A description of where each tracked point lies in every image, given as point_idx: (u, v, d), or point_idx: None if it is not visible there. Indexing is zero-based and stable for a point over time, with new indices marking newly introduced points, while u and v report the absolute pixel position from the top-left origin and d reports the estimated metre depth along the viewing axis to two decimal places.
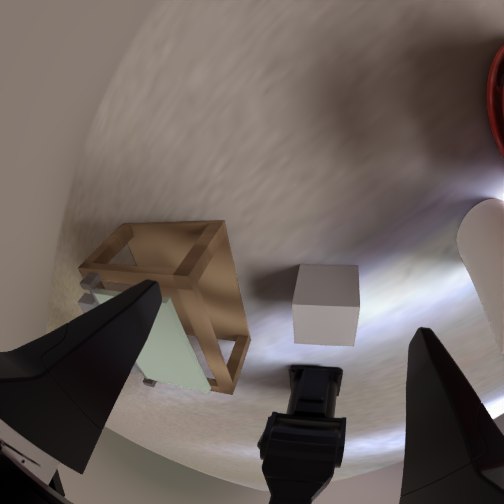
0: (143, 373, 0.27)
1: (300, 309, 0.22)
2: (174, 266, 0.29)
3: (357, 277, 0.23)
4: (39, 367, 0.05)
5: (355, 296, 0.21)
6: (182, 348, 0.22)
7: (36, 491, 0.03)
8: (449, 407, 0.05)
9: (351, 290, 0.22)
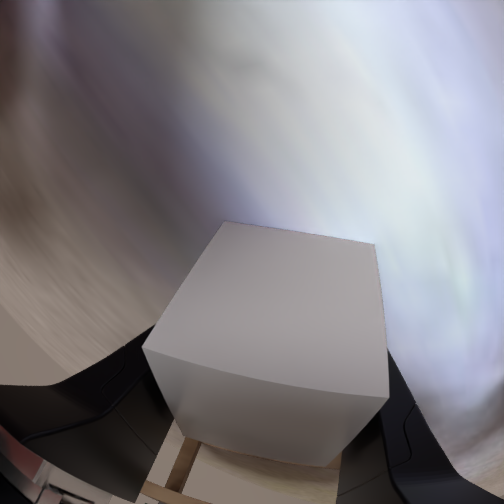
0: None
1: (193, 434, 0.08)
2: None
3: None
4: (102, 403, 0.05)
5: None
6: None
7: None
8: None
9: None
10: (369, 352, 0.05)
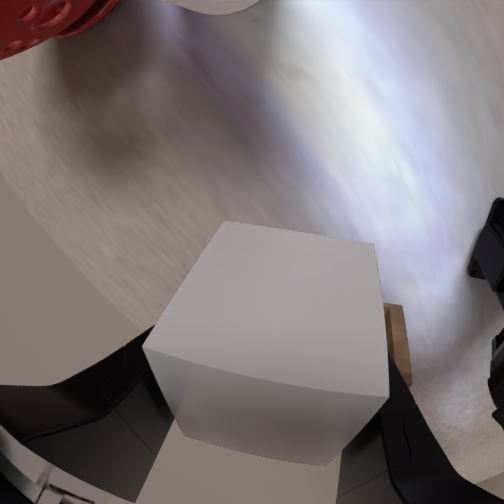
0: None
1: (194, 433, 0.08)
2: None
3: None
4: (102, 404, 0.05)
5: None
6: None
7: None
8: None
9: None
10: (369, 351, 0.05)
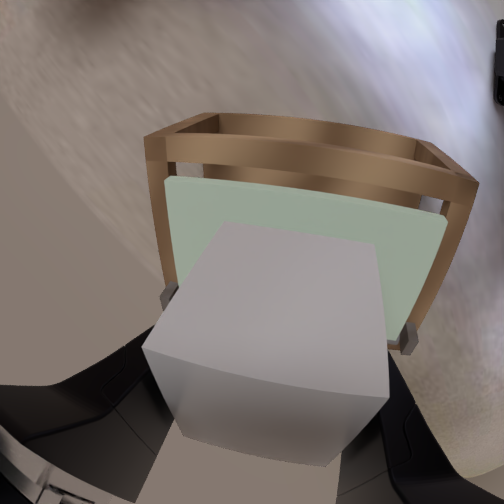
0: None
1: (193, 434, 0.08)
2: None
3: None
4: (102, 403, 0.05)
5: None
6: (278, 201, 0.12)
7: None
8: None
9: None
10: (369, 352, 0.05)
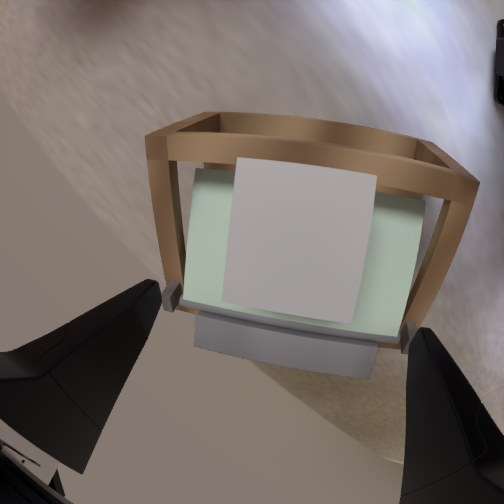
0: (380, 336, 0.14)
1: (235, 287, 0.10)
2: None
3: None
4: (39, 367, 0.05)
5: None
6: None
7: (36, 491, 0.03)
8: (449, 407, 0.05)
9: None
10: None
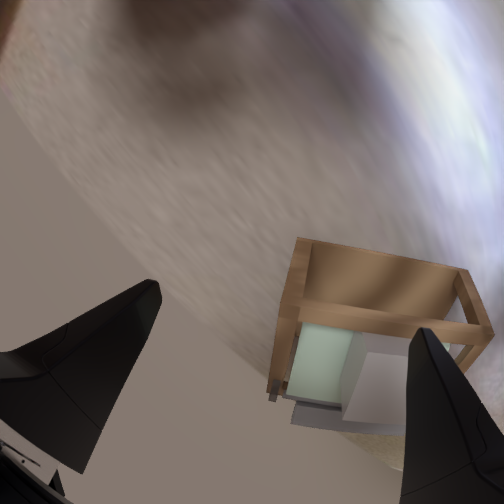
0: None
1: (352, 413, 0.15)
2: None
3: None
4: (39, 367, 0.05)
5: (363, 347, 0.15)
6: None
7: (36, 491, 0.03)
8: (449, 407, 0.05)
9: (361, 347, 0.16)
10: None
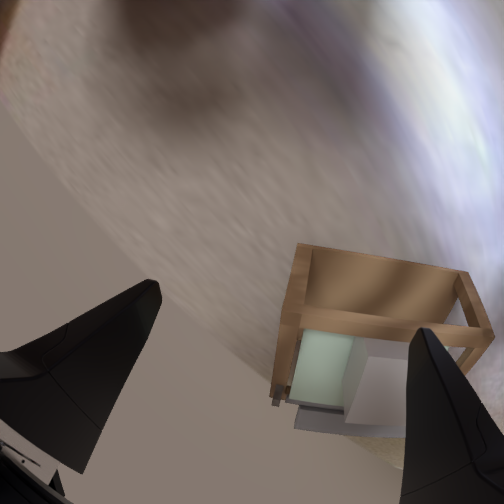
0: None
1: (354, 416, 0.15)
2: None
3: None
4: (39, 367, 0.05)
5: (364, 351, 0.16)
6: None
7: (36, 491, 0.03)
8: (449, 407, 0.05)
9: (362, 351, 0.16)
10: None
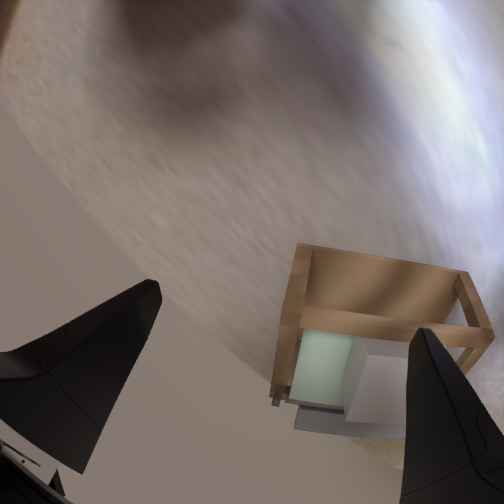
0: None
1: (354, 414, 0.15)
2: None
3: None
4: (39, 367, 0.05)
5: (364, 350, 0.16)
6: None
7: (36, 491, 0.03)
8: (449, 407, 0.05)
9: (361, 349, 0.16)
10: None
